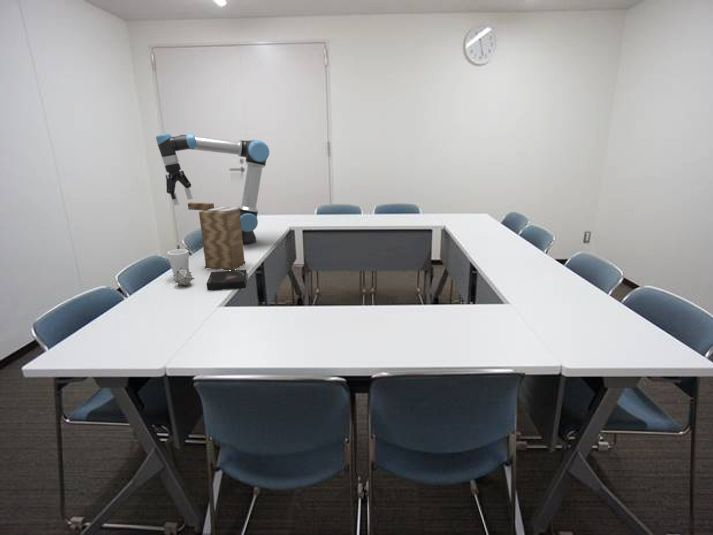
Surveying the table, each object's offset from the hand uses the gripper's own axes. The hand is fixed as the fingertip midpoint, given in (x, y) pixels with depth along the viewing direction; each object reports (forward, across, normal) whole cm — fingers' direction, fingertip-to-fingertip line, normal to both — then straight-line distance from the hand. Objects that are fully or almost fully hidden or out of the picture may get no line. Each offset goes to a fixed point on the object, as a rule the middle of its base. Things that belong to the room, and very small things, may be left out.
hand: (183, 202), depth 226 cm
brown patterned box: (+34, +19, +26) cm, 47 cm away
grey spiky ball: (+31, +49, +20) cm, 62 cm away
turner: (+4, +17, +26) cm, 32 cm away
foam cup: (+31, +39, +13) cm, 51 cm away
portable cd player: (+35, +43, +39) cm, 68 cm away
